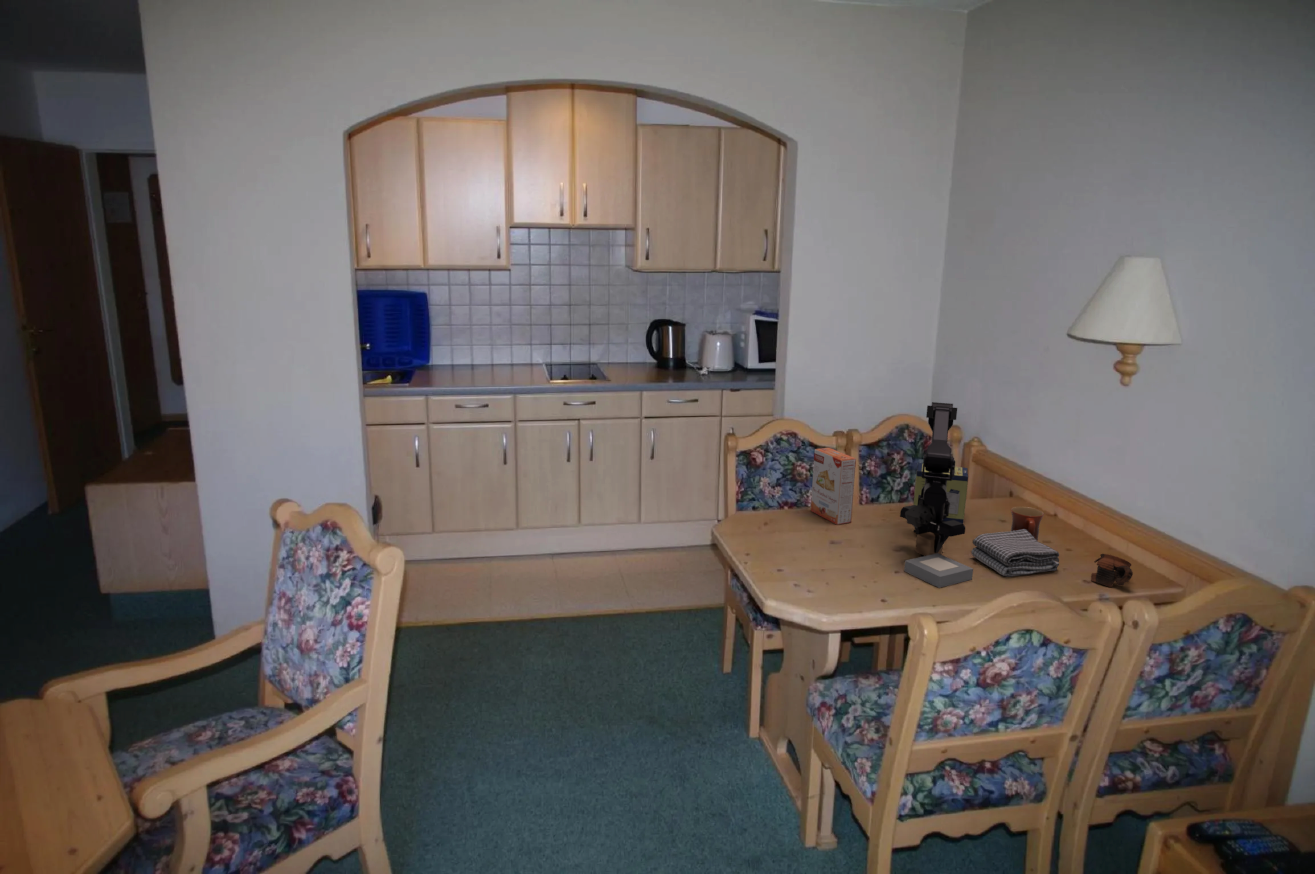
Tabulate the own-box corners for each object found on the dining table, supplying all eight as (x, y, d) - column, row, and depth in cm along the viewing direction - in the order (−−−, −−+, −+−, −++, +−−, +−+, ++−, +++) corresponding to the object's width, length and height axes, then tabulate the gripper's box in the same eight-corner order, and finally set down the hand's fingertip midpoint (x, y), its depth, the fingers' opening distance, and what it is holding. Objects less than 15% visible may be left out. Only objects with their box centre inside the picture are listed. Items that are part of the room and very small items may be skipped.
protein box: (912, 508, 277) (917, 462, 273) (963, 514, 272) (968, 467, 269) (911, 518, 267) (916, 470, 264) (964, 524, 263) (969, 476, 259)
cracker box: (809, 511, 271) (813, 448, 266) (824, 509, 274) (829, 446, 269) (835, 525, 259) (840, 459, 254) (851, 523, 261) (857, 457, 256)
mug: (1004, 538, 251) (1008, 505, 249) (1035, 541, 249) (1040, 507, 247) (1012, 552, 240) (1016, 518, 237) (1045, 555, 238) (1050, 521, 236)
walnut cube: (915, 551, 236) (916, 534, 235) (928, 548, 239) (929, 531, 238) (928, 557, 232) (930, 540, 231) (941, 554, 235) (943, 537, 233)
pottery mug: (1079, 578, 224) (1090, 549, 225) (1106, 592, 226) (1117, 563, 227) (1113, 585, 212) (1125, 554, 213) (1142, 599, 214) (1153, 569, 215)
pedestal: (904, 571, 225) (905, 559, 224) (936, 563, 231) (937, 552, 230) (938, 587, 215) (940, 576, 214) (971, 579, 220) (973, 568, 220)
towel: (968, 558, 236) (971, 531, 234) (1023, 552, 241) (1026, 526, 239) (1004, 579, 221) (1008, 551, 220) (1062, 573, 227) (1066, 545, 225)
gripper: (888, 490, 236) (883, 543, 239) (939, 509, 220) (933, 566, 223) (917, 485, 241) (912, 537, 245) (969, 504, 225) (963, 559, 229)
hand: (928, 549), depth 235 cm, fingers closed on walnut cube, 5 cm apart
